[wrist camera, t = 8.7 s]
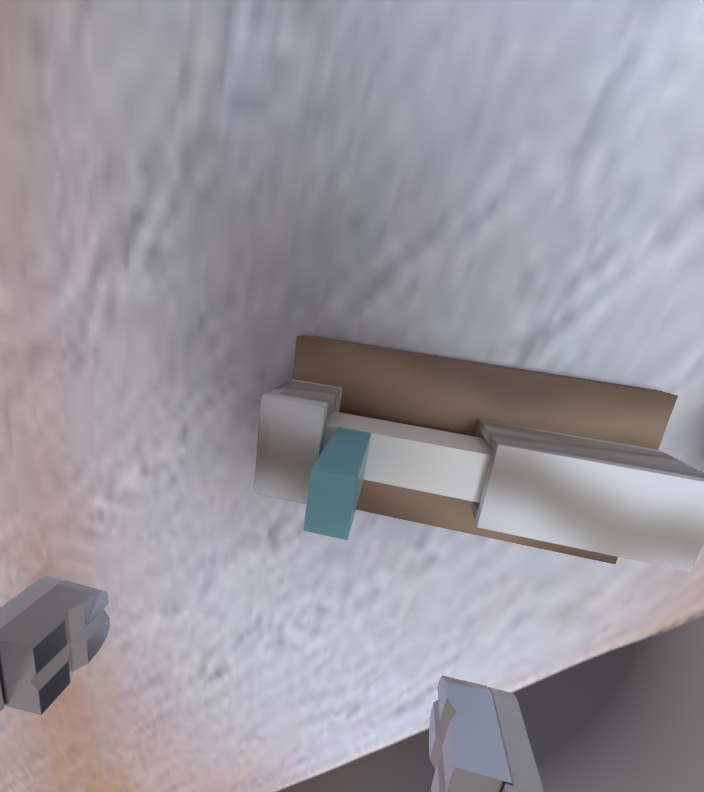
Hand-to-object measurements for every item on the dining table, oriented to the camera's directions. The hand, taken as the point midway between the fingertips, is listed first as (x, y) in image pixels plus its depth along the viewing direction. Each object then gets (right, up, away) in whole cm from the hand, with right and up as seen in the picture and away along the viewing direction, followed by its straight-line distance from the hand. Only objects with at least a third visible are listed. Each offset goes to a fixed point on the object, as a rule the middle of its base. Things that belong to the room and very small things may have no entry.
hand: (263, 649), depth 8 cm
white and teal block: (+6, +3, +15) cm, 17 cm away
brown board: (+9, +2, +17) cm, 20 cm away
